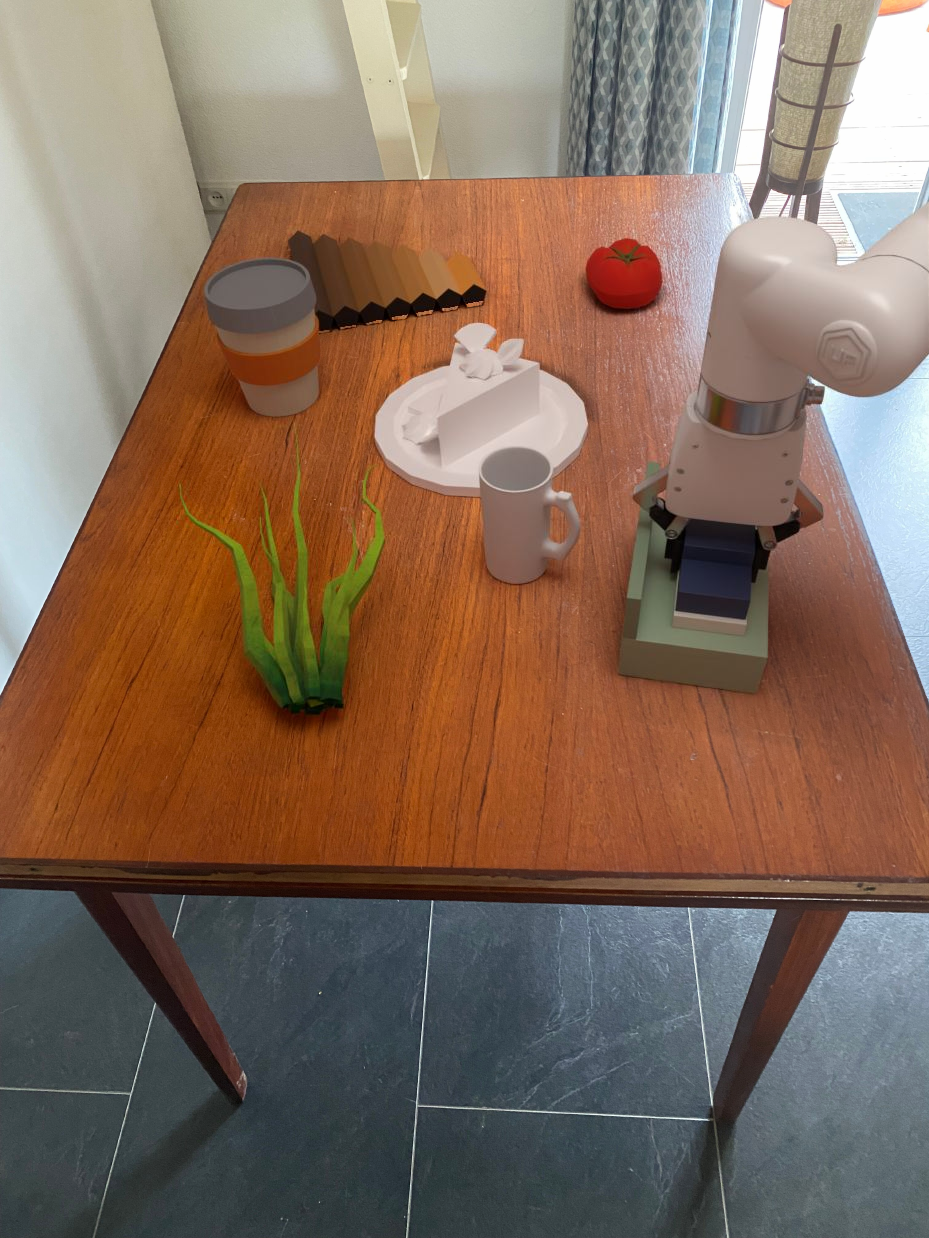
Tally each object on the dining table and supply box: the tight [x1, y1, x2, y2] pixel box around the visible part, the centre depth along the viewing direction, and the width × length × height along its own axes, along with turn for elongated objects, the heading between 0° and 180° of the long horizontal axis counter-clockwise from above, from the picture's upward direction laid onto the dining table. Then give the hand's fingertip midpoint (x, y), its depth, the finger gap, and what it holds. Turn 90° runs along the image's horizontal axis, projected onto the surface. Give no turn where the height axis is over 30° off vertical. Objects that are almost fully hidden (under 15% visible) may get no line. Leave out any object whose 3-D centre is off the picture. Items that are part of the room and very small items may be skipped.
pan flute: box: [287, 230, 488, 331], centre depth 132 cm, size 25×3×25 cm
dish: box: [374, 322, 589, 498], centre depth 103 cm, size 25×25×11 cm
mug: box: [479, 446, 581, 585], centre depth 86 cm, size 10×7×12 cm, turn 59°
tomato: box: [584, 237, 663, 310], centre depth 123 cm, size 10×11×6 cm
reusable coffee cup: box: [203, 257, 321, 418], centre depth 108 cm, size 13×13×15 cm
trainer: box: [672, 518, 756, 636], centre depth 80 cm, size 14×6×6 cm, turn 167°
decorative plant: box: [178, 422, 386, 716], centre depth 84 cm, size 18×30×15 cm, turn 169°
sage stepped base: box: [617, 461, 770, 695], centre depth 82 cm, size 12×18×10 cm, turn 167°
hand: (713, 565), depth 81 cm, fingers closed on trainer, 6 cm apart
